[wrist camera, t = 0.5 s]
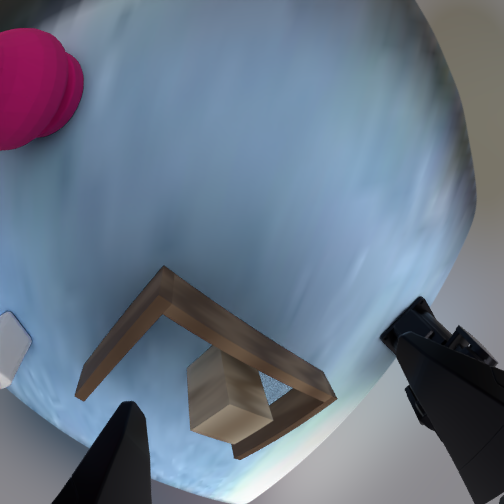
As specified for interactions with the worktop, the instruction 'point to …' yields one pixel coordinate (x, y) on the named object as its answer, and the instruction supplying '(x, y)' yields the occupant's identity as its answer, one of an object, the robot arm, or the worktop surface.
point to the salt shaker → (11, 347)
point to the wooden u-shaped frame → (223, 337)
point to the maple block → (225, 397)
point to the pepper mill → (35, 86)
